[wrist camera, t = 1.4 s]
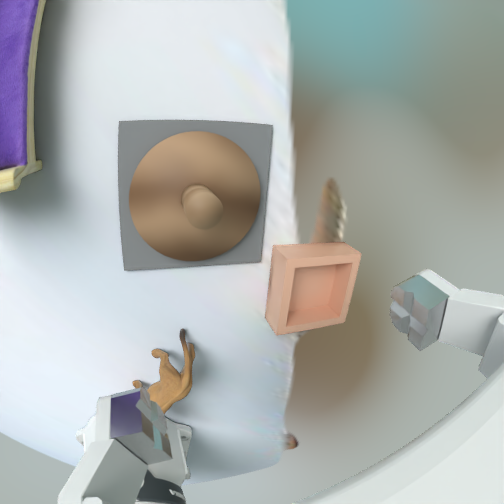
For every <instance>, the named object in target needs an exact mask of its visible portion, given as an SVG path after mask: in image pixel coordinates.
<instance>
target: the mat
mask: <svg viewBox="0 0 504 504" xmlns="http://www.w3.org/2000/svg"><path fill="white" fill-rule="evenodd" d="M272 126H273V125H267V124H256V123H244V122H228V121H207V120H138V121H119V134H118V189H119V213H120V229H121V242H122V253H123V263H124V271H126V270H142V269H159V268H175V267H190V266H205V265H220V264H235V263H250V262H261V252H262V241H263V230H264V219H265V208H266V196H267V185H268V173H269V162H270V150H271V138H272ZM191 131H203V132H210V133H215V134H218V135H221V136H223V137H226V138H228V139H229V140H231V141H233V142H234V143H236V144H237V145H238V146H239V147H241V148H242V149H243V150H244V151H245V153H246V154H247V155H248V156H249V158H250V159H251V161H252V163H253V164H254V166H255V169H256V171H257V174H258V178H259V182H260V204H259V209H258V212H257V215H256V218H255V220H254V222H253V224H252V226H251V228H250V229H249V231H248V232H247V234H246V235H245V236H244V237H243V238H242V239H241V241H240V242H238V243H237V244H236V245H235V246H234V247H232V248H231V249H230V250H228V251H227V252H225V253H223V254H221V255H219V256H216V257H214V258H210V259H206V260H201V261H181V260H176V259H172V258H170V257H167V256H164V255H163V254H161V253H159V252H157V251H156V250H154V249H153V248H152V247H150V246H149V245H148V244H147V243H146V242H145V241H144V240H143V238H142V237H141V236H140V234H139V233H138V231H137V229H136V228H135V225H134V223H133V220H132V217H131V213H130V208H129V191H130V185H131V181H132V178H133V175H134V173H135V171H136V168H137V166H138V165H139V163H140V162H141V160H142V158H143V157H144V156H145V155H146V154H147V153H148V151H150V150H151V149H152V148H153V147H154V146H155V145H157V144H158V143H159V142H161V141H162V140H164V139H166V138H168V137H170V136H173V135H176V134H179V133H184V132H191Z"/></svg>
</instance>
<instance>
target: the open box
mask: <svg viewBox="0 0 504 504" xmlns="http://www.w3.org/2000/svg"><path fill="white" fill-rule="evenodd" d="M360 258H361V253H360V252H358V251H357V250H355V249H354V248H352V247H351V246H349V245H348V244H346V243H345V242H332V243H312V244H292V245H273V250H272V259H271V269H270V278H269V287H268V296H267V304H266V313H265V318H266V320H267V322H268V323H269V325H270V326H271V328H272V330H273V331H274V333H275V334H276V335H282V334H288V333H294V332H299V331H305V330H310V329H315V328H320V327H325V326H330V325H335V324H340V323H344V322H345V319H346V315H347V312H348V308H349V304H350V300H351V296H352V293H353V288H354V284H355V280H356V276H357V272H358V267H359V263H360Z"/></svg>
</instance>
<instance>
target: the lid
mask: <svg viewBox="0 0 504 504" xmlns="http://www.w3.org/2000/svg"><path fill="white" fill-rule="evenodd" d="M259 204H260V182H259V178H258V174H257V171H256V169H255V166H254V164H253V163H252V161H251V159H250V158H249V156H248V155H247V154H246V153H245V151H244V150H243V149H242V148H241V147H239V146H238V145H237V144H236V143H234V142H233V141H231V140H229V139H228V138H226V137H223V136H221V135H218V134H215V133H210V132H203V131H191V132H184V133H179V134H176V135H173V136H170V137H168V138H166V139H164V140H162V141H161V142H159V143H158V144H157V145H155V146H154V147H153V148H152V149H151V150H150V151H148V153H147V154H146V155H145V156H144V157H143V158H142V160H141V162H140V163H139V165H138V166H137V168H136V171H135V173H134V175H133V178H132V181H131V185H130V191H129V208H130V213H131V217H132V220H133V223H134V225H135V228H136V229H137V231H138V233H139V234H140V236H141V237H142V238H143V240H144V241H145V242H146V243H147V244H148V245H149V246H150V247H152V248H153V249H154V250H156V251H157V252H159V253H161V254H163V255H164V256H167V257H170V258H172V259H176V260H181V261H201V260H206V259H210V258H214V257H216V256H219V255H221V254H223V253H225V252H227V251H228V250H230V249H231V248H232V247H234V246H235V245H236V244H237V243H238V242H240V241H241V239H242V238H243V237H244V236H245V235H246V234H247V232H248V231H249V229H250V228H251V226H252V224H253V222H254V220H255V218H256V215H257V212H258V209H259Z"/></svg>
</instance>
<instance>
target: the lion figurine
mask: <svg viewBox="0 0 504 504" xmlns="http://www.w3.org/2000/svg"><path fill="white" fill-rule="evenodd" d="M180 340H181V343H182V347H183V351H184V358H185V365H184V367H183V369H182V371H181V372H180V373H179V372H178V371H177V370H176V369H175V368H174V367H173V366H172V365H171V364H170V362H169V359H168V357H169V355H168V354H167V353H166V352H164V351H162V350H160V349H154V350H153V351H152V356H153V357H155V358H159V357H160V358H161V362H160V369H159V373H160V380H161V381H159V382H156V383H154V384H152V385H151V386H150V387H149V388H148V390H147V391H148V393H149V394H150V400H151V401H154V402H157V404H158V405H159V406H160V408H161V410H162V411H163V413H164V414H165V412H166V411H167V410H168V409H169V408H170V407H171V406H172V404H173V403H174V402H176V401H179V400H181V399H183V398H184V397H186V396H187V395H188V393H189V392H190V390H191V387H192V364H193V360H194V358H195V351H194V345H193V344H191V343H187V344H186V341H185V330H184V329H181V331H180ZM133 386H134V387H135V388H136V389H137V388H141V387H143V386H142V383H141V382H140V381H139V380H136V381H133ZM164 436H165V437H166V438H167V439H168V440H169V438H168V434H167V433H166V434H165V435H164Z"/></svg>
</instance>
